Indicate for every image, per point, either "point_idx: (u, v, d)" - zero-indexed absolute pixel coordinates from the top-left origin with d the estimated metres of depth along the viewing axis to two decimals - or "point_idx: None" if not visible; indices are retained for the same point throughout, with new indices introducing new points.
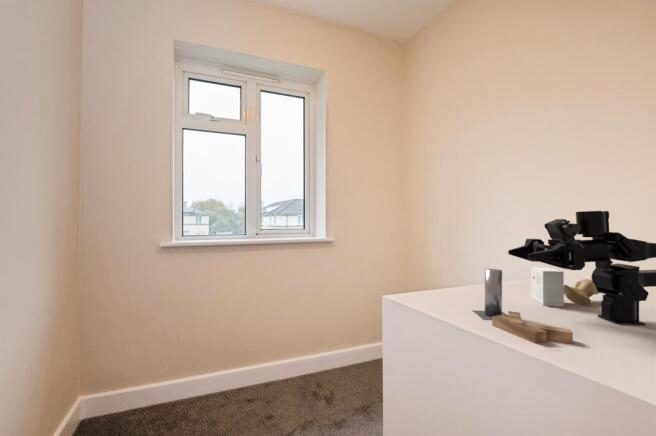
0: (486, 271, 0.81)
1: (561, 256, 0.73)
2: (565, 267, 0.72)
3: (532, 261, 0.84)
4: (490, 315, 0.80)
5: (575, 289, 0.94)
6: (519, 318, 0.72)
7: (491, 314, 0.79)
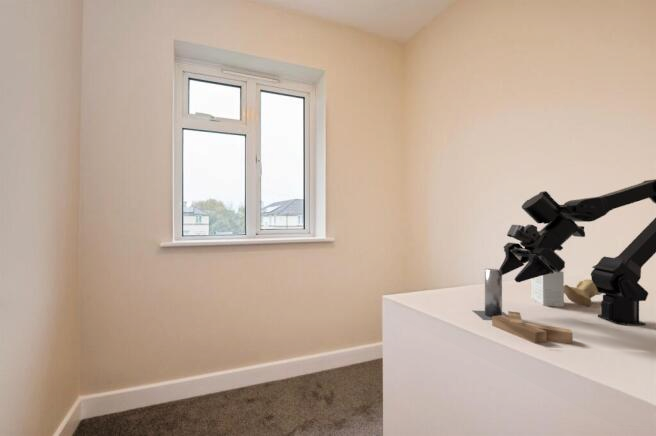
0: (486, 271, 0.81)
1: (540, 264, 0.74)
2: (551, 272, 0.72)
3: (522, 265, 0.85)
4: (490, 315, 0.80)
5: (576, 289, 0.93)
6: (519, 318, 0.72)
7: (491, 314, 0.79)
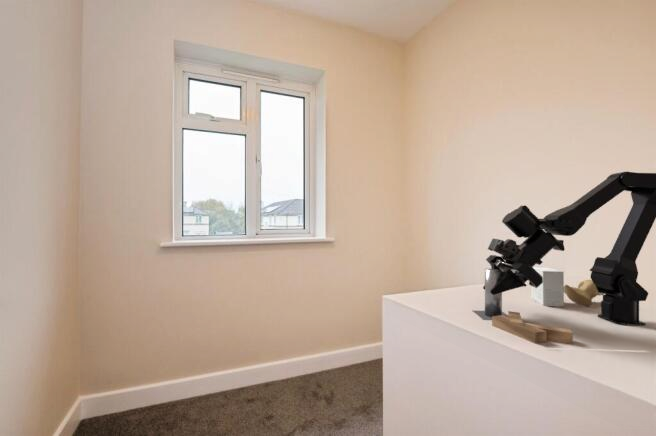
0: (486, 271, 0.81)
1: (514, 277, 0.77)
2: (524, 285, 0.75)
3: None
4: (490, 315, 0.80)
5: (576, 289, 0.93)
6: (519, 318, 0.72)
7: (491, 314, 0.79)
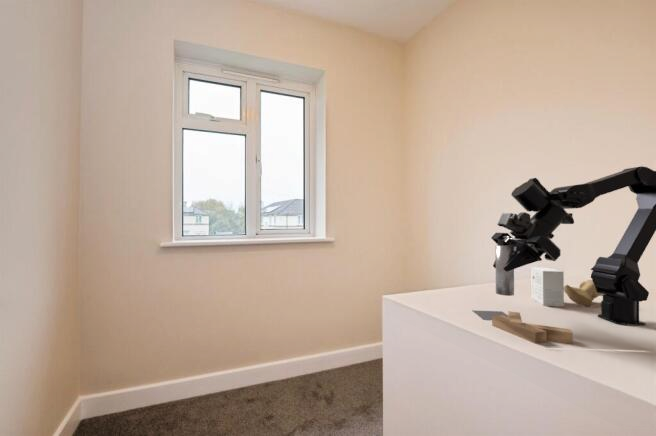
0: (498, 247, 0.77)
1: (528, 252, 0.73)
2: (539, 260, 0.72)
3: None
4: (503, 293, 0.76)
5: (577, 289, 0.93)
6: (519, 318, 0.72)
7: (504, 292, 0.75)
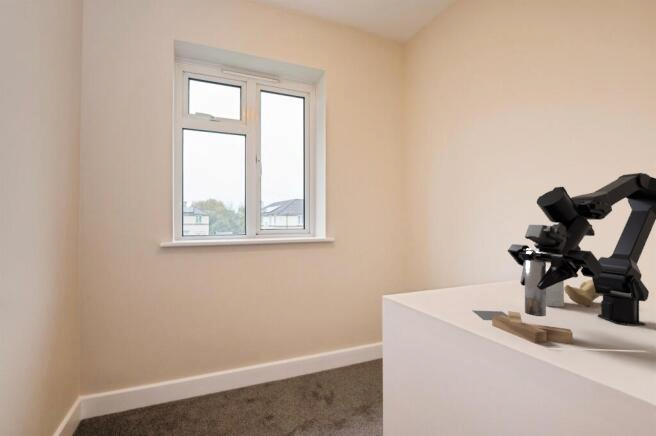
0: (530, 263, 0.69)
1: (564, 268, 0.67)
2: (575, 276, 0.66)
3: None
4: (536, 314, 0.68)
5: (577, 290, 0.93)
6: (519, 318, 0.72)
7: (538, 313, 0.68)
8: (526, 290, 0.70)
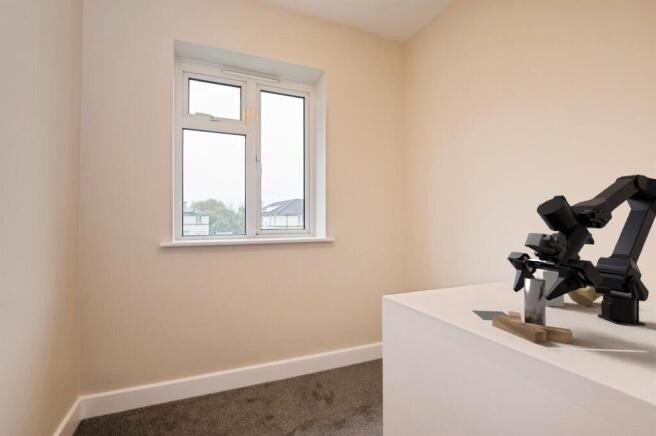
0: (529, 281, 0.69)
1: (572, 279, 0.65)
2: (584, 287, 0.64)
3: None
4: None
5: (578, 290, 0.93)
6: (519, 318, 0.72)
7: None
8: (526, 308, 0.70)
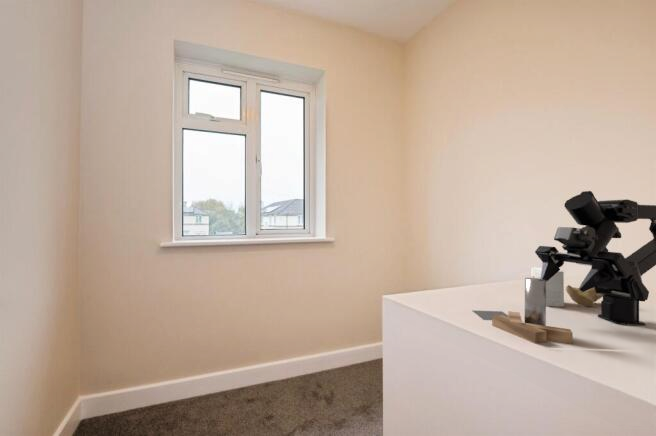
0: (530, 281, 0.69)
1: (605, 270, 0.68)
2: (617, 279, 0.67)
3: (559, 270, 0.79)
4: None
5: (578, 290, 0.93)
6: (519, 318, 0.72)
7: None
8: (526, 309, 0.70)
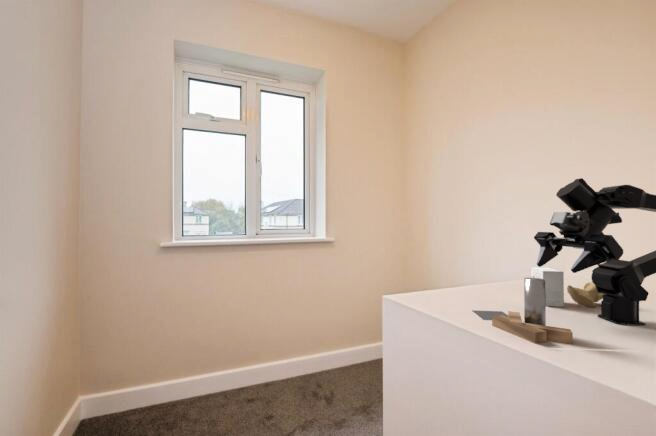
0: (529, 281, 0.69)
1: (597, 252, 0.70)
2: (609, 260, 0.70)
3: None
4: None
5: (579, 290, 0.92)
6: (519, 318, 0.72)
7: None
8: (526, 308, 0.70)
